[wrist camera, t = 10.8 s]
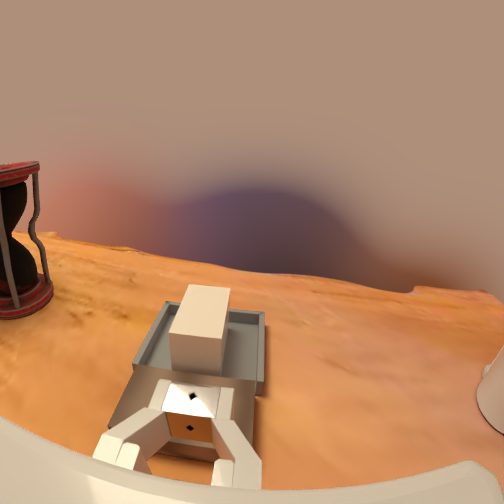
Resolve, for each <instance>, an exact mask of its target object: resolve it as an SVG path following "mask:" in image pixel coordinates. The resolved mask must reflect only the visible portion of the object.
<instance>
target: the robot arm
mask: <svg viewBox="0 0 504 504" xmlns="http://www.w3.org/2000/svg"><path fill="white" fill-rule="evenodd" d="M482 377H483V379H482V381H481V382H480V384H479V386H478V388H477V402H478V405H479V408H480V410H481V412H482V414H483V415H484V417H485V418H486V419H487V421H488V422H489V423H490V424H491V425H492V426H493V427H494V428H495V429H497V430H498V431H500V432H501V433H503V434H504V346H503V347H502V349H501V351H500V352H499V354H498V355H497V357H496V358H495V360H494V361H493V363H492V365H486V366H485V368H484V369H483V372H482ZM234 393H235V389H234V388H226V387H216V386H206V385H195V384H189V383H183V382H177V381H170V380H165V379H160V380H159V381H158V383H157V385H156V388H155V391H154V393H153V396H152V398H151V401H150V403H149V406H148V408H146V407H144V408H142V409H141V410H139V411H138V412H136V413H135V414H133V415H132V416H130V417H129V418H127V419H126V420H124V421H122V422H121V423H119V424H118V425H116V426H115V427H113V428H111V429H110V430H108V431H107V432H105V433H103V434H102V436H101V438H100V441H99V443H98V445H97V447H96V449H95V452H94V454H93V456H92V457H89V456H86V455H84V454H81V453H78V452H76V451H73V450H70V449H68V448H66V447H63V446H61V445H58V444H56V443H54V442H51V441H49V440H47V439H45V438H43V437H41V436H38V435H36V434H34V433H32V432H30V431H28V430H26V429H24V428H22V427H20V426H18V425H17V424H15V423H13V422H11V421H9V420H7V419H6V418H4V417H2V416H1V415H0V504H504V496H503V492H502V489H501V487H500V484H499V482H498V479H497V478H496V476H495V475H494V474H493V473H492V472H491V471H489V470H488V469H486V468H485V467H483V466H481V465H480V464H478V463H476V462H474V461H472V460H465V461H461V462H458V463H455V464H452V465H449V466H446V467H443V468H439V469H436V470H432V471H428V472H425V473H421V474H417V475H412V476H408V477H403V478H399V479H394V480H389V481H383V482H377V483H371V484H364V485H357V486H348V487H339V488H327V489H310V490H261V477H262V461H261V459H260V458H259V457H258V455H257V454H256V452H255V451H254V450H253V448H252V447H251V445H250V444H249V442H248V441H247V439H246V438H245V436H244V435H243V433H242V432H241V430H240V429H239V427H238V426H237V424H236V423H235V421H234V420H233V416H234ZM171 437H174V438H181V439H188V440H195V441H201V442H207V443H213V445H214V447H215V449H216V451H217V453H218V455H219V457H220V459H218V460H217V461H215V465H214V470H213V476H212V482H211V485H204V484H197V483H191V482H185V481H179V480H174V479H169V478H164V477H159V476H155V475H152V473H151V471H150V469H149V467H148V465H147V463H146V461H147V460H148V459H149V458H150V457H151V456H152V455H154V454H155V453H156V452H157V451H158V450H159V449H160V448H161V447H162V446H164V445H165V444H166V443H167V442H168V441H169V440H170V439H171Z"/></svg>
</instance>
